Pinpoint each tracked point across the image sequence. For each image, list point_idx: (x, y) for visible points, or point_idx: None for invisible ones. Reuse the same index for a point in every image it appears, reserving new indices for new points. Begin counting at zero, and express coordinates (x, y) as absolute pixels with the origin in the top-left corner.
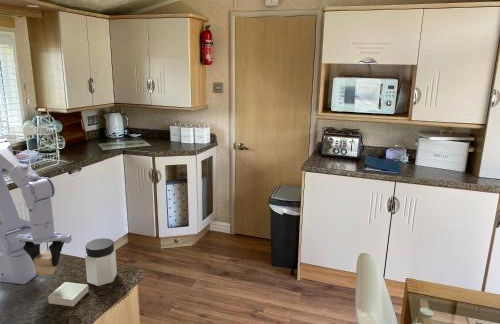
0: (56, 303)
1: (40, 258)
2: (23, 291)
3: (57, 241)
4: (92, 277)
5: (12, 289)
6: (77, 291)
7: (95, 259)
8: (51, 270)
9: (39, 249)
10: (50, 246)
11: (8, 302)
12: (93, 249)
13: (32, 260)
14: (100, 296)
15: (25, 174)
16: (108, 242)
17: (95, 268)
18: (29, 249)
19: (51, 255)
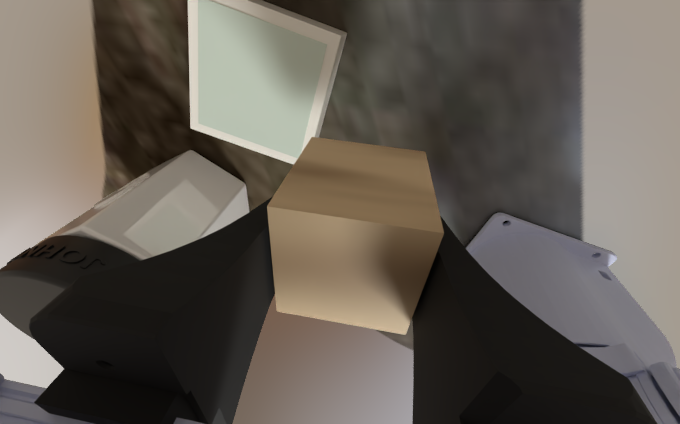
0: (303, 16)
1: (371, 229)
2: (493, 161)
3: (92, 419)
4: (198, 179)
5: (545, 185)
6: (203, 68)
7: (84, 223)
8: (303, 150)
9: (415, 353)
10: (131, 340)
11: (560, 72)
12: (44, 283)
13: (460, 242)
14: (137, 66)
15: None
16: None
17: (135, 192)
18: (520, 357)
19: (287, 262)
